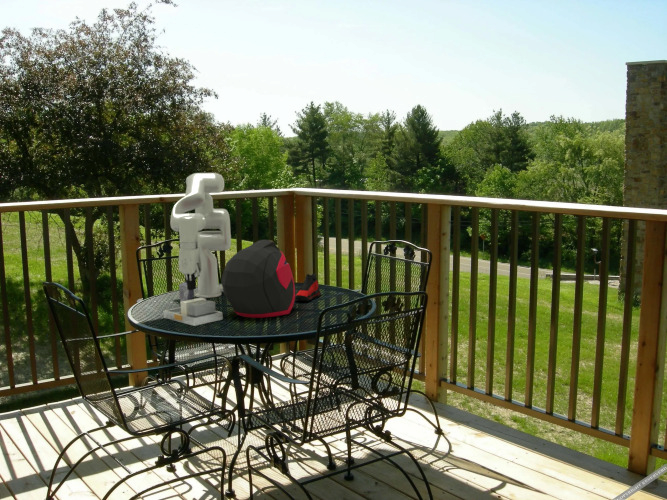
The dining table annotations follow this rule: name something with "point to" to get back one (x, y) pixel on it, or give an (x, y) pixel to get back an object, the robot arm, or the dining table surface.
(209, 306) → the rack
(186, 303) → the off-white rectangular block
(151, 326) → the dining table surface
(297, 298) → the athletic shoe
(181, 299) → the rock
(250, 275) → the helmet
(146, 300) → the dining table surface
